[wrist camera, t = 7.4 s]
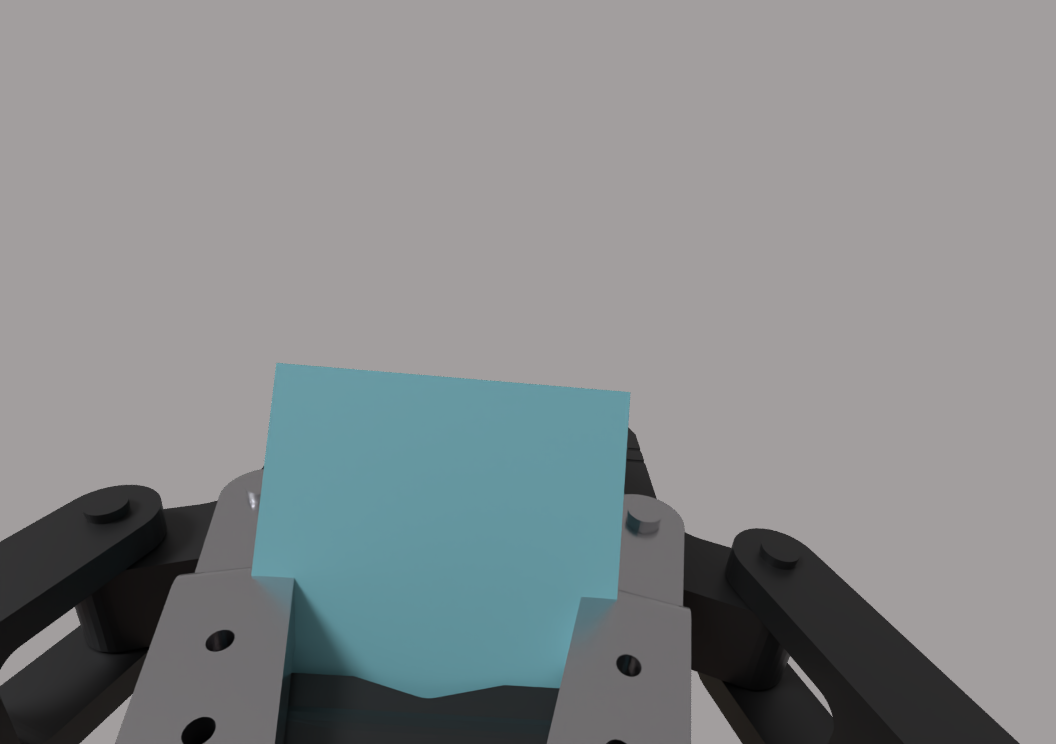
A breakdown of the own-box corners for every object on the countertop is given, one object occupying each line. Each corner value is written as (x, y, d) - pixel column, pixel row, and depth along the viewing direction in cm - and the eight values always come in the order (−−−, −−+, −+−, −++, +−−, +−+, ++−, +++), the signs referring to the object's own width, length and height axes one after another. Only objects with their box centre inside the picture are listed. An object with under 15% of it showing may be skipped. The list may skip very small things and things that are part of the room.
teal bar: (607, 760, 6) (630, 392, 7) (232, 738, 6) (276, 363, 7) (519, 489, 32) (525, 416, 33) (447, 483, 32) (453, 410, 32)
